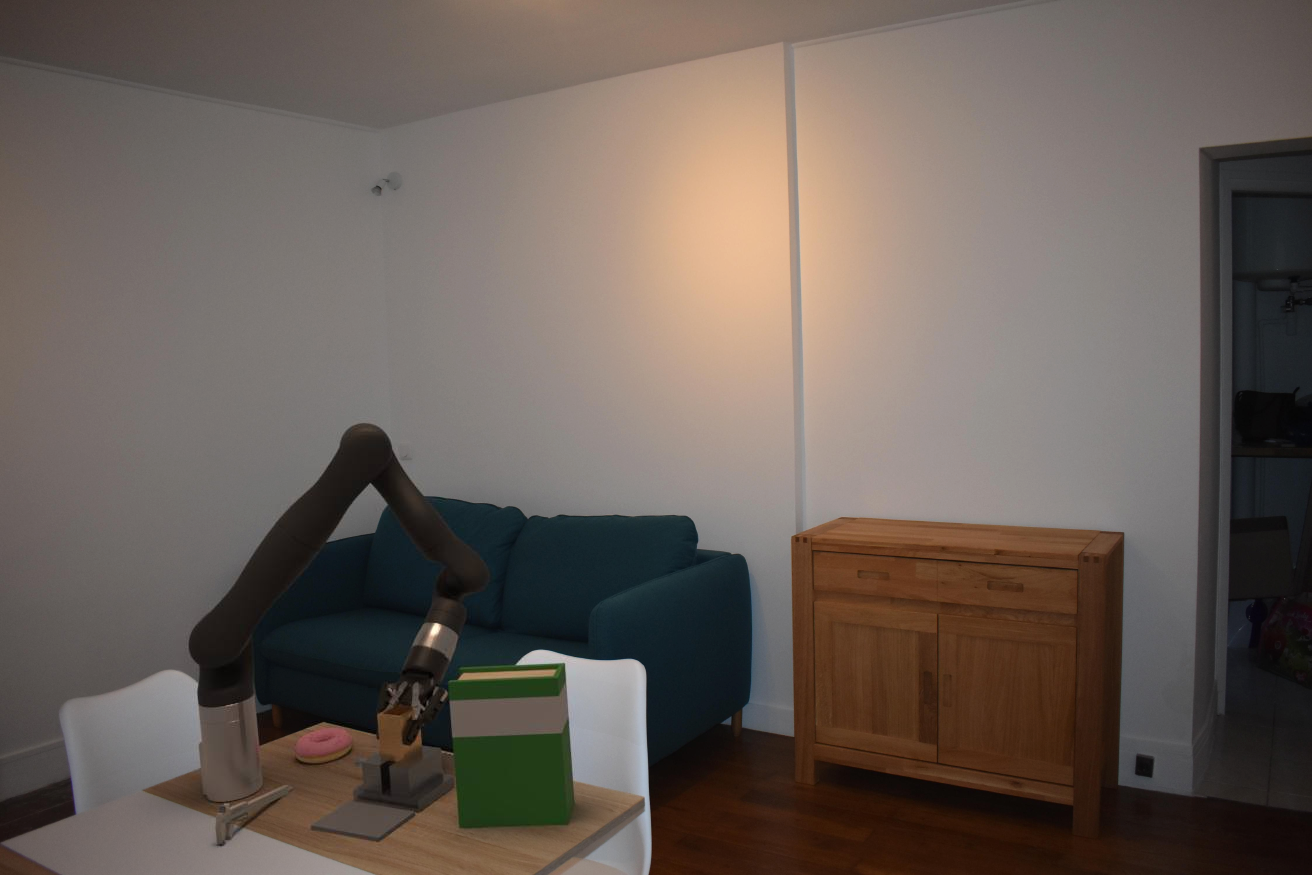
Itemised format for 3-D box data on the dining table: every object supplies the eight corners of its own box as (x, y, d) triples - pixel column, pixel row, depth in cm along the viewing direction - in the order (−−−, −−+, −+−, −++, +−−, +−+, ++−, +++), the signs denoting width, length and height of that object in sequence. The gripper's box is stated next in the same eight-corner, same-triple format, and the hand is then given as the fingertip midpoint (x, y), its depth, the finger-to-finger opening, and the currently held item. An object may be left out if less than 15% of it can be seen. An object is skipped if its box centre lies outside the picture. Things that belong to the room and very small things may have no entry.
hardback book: (459, 827, 146) (448, 682, 144) (471, 806, 153) (460, 667, 151) (567, 824, 145) (557, 677, 143) (574, 802, 152) (564, 662, 150)
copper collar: (380, 759, 158) (377, 714, 157) (399, 747, 162) (396, 704, 162) (403, 762, 156) (400, 717, 155) (422, 750, 160) (418, 706, 160)
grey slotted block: (340, 799, 159) (334, 726, 158) (379, 774, 168) (373, 706, 167) (419, 812, 152) (412, 736, 151) (454, 786, 161) (449, 715, 160)
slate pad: (311, 828, 148) (310, 825, 148) (349, 803, 157) (349, 800, 157) (378, 841, 143) (378, 837, 143) (415, 814, 151) (414, 811, 151)
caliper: (223, 847, 145) (219, 809, 144) (217, 847, 145) (213, 809, 144) (293, 789, 165) (290, 755, 164) (288, 789, 165) (285, 755, 164)
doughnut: (320, 770, 172) (318, 749, 172) (282, 761, 178) (280, 740, 178) (365, 748, 182) (363, 728, 181) (328, 740, 187) (326, 720, 187)
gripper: (389, 641, 167) (348, 728, 157) (453, 645, 162) (415, 737, 151) (410, 660, 173) (372, 746, 162) (472, 665, 167) (437, 755, 157)
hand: (393, 741), depth 157 cm, fingers closed on copper collar, 5 cm apart
